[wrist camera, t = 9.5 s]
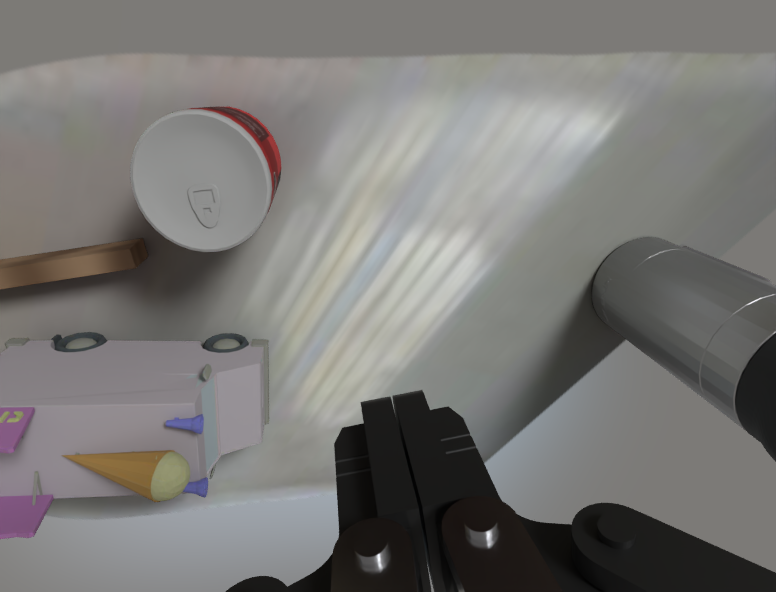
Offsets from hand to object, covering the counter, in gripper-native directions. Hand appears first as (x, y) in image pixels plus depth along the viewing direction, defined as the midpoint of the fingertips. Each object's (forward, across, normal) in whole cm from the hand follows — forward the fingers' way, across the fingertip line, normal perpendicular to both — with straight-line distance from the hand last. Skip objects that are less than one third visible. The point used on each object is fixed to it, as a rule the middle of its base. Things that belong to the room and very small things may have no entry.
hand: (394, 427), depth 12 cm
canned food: (+31, +8, -4) cm, 32 cm away
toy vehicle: (+31, +18, +12) cm, 38 cm away
